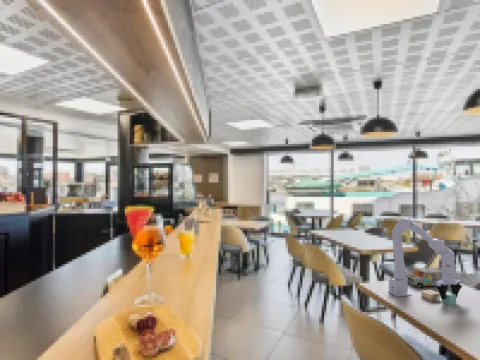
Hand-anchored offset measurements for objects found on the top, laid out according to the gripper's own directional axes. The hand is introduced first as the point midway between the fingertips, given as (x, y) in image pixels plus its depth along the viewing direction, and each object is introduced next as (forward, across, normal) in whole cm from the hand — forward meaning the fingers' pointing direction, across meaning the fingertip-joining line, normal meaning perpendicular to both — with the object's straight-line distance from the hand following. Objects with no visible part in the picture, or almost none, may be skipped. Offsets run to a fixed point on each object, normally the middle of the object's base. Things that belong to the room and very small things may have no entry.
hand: (448, 298), depth 153 cm
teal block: (+3, 0, 0) cm, 3 cm away
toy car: (+3, +13, +25) cm, 28 cm away
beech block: (+3, -5, +7) cm, 9 cm away
